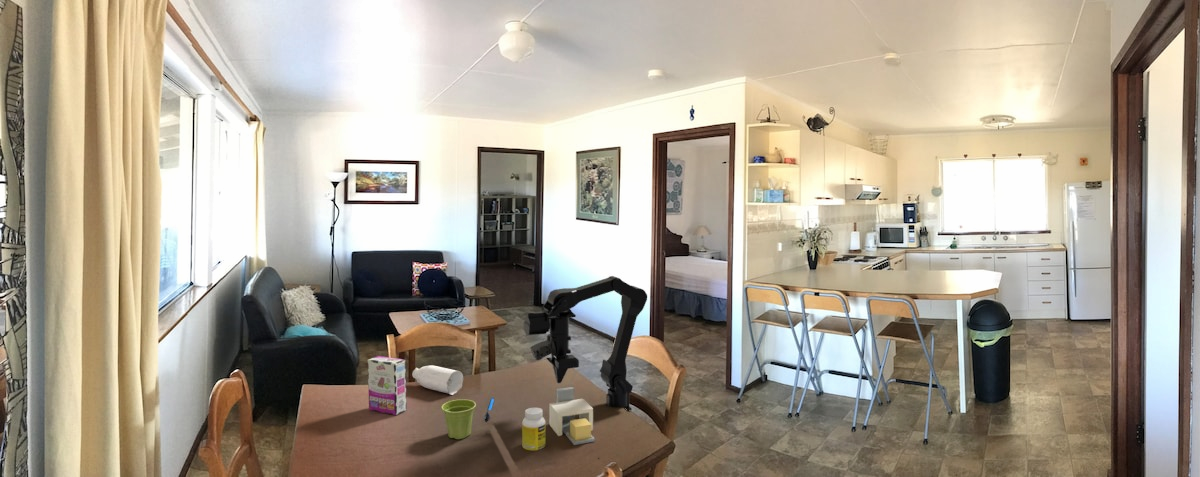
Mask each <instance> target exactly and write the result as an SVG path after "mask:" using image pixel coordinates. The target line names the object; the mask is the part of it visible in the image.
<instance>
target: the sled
mask: <svg viewBox="0 0 1200 477" xmlns="http://www.w3.org/2000/svg"><path fill="white" fill-rule="evenodd" d="M555 393H556V402H563V401H570V400H575V388H574V387H573V386H572V387H571V386H570V387H563V388H556V391H555ZM556 402H555V403H556ZM570 420H576V418H575V415H570V416H564V417H562V433H564V434H565V436H566V437H567V439H569V441H570V442H571V443H572V445H573V446H576V445H582V444H587V443H594V442H596V439H595V437H594V435H592V434H591V438H589V439H583V440H578V441H575V440H574V439H573V438H572V437H571V435H570Z"/></svg>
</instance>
